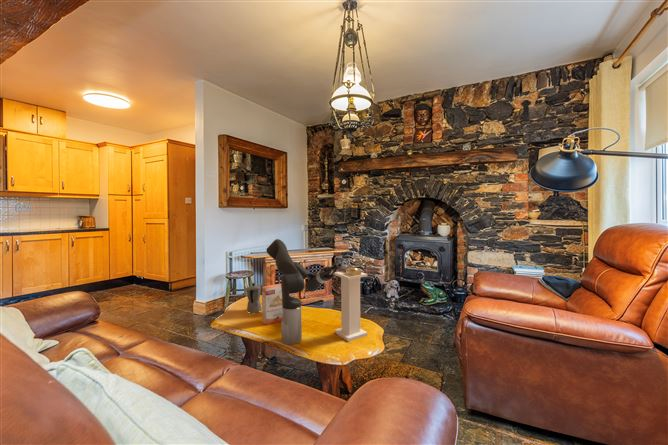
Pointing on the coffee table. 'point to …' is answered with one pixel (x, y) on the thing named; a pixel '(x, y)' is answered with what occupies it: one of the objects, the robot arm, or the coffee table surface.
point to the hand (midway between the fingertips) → (339, 265)
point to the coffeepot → (253, 298)
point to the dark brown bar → (350, 271)
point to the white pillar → (350, 307)
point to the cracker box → (272, 304)
